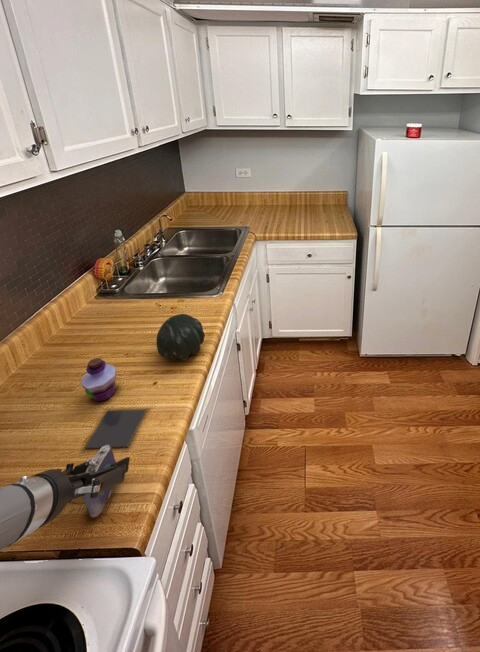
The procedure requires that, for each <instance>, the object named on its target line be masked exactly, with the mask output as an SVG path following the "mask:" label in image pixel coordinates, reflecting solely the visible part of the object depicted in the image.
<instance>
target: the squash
mask: <svg viewBox="0 0 480 652" xmlns="http://www.w3.org/2000/svg"><path fill="white" fill-rule="evenodd" d="M205 337H206V334H205V331H204V328H203V324H202V323H201V321H200V320H199V319H197V318H196V317H193V316H191V315H189V314H187V313H179V314H175V315H172V316H170V317H169V318H167V319H166V320H165V321H164V322H163V323H162V324H161V326H160V328H159V330H158V332H157V335H156V349H157V352H158V354H159V355H160V356H161V357H163V358H166V359H167V360H168V361H177V360H178V359H179V360H185V361H186V360H188V358H189V357H190V355H192V356H193V355H196V354H197V353H199V352H200V349H201V345H202V344H203V343H204V341H205Z"/></svg>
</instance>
